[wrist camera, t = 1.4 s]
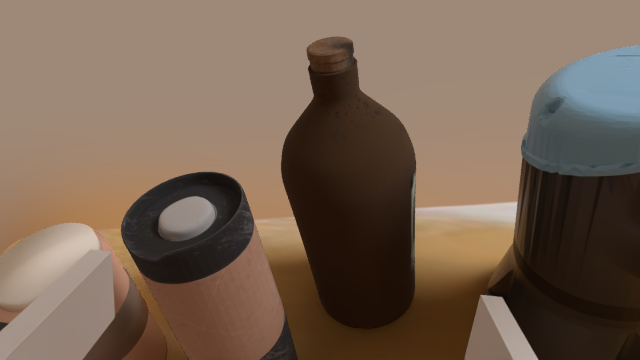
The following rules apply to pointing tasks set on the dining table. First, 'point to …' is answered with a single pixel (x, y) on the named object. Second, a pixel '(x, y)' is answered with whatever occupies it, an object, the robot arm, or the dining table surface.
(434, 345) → the dining table surface
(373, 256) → the olive oil
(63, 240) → the terracotta canister
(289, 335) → the travel mug
